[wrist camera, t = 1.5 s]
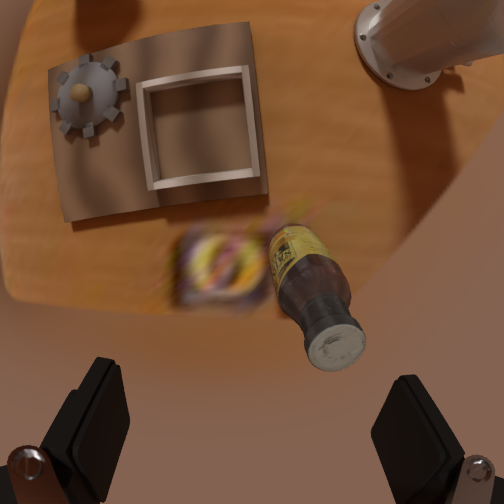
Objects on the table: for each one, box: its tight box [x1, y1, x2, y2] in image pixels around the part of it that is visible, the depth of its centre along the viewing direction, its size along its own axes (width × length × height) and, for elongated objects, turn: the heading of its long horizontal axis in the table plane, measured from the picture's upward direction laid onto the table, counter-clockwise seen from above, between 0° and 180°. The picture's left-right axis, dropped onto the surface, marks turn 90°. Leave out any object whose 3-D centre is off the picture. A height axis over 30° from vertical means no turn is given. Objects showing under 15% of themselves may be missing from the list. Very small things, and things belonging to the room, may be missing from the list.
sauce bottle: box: [269, 224, 366, 372], centre depth 29 cm, size 7×6×20 cm
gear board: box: [48, 22, 268, 223], centre depth 31 cm, size 25×20×5 cm
